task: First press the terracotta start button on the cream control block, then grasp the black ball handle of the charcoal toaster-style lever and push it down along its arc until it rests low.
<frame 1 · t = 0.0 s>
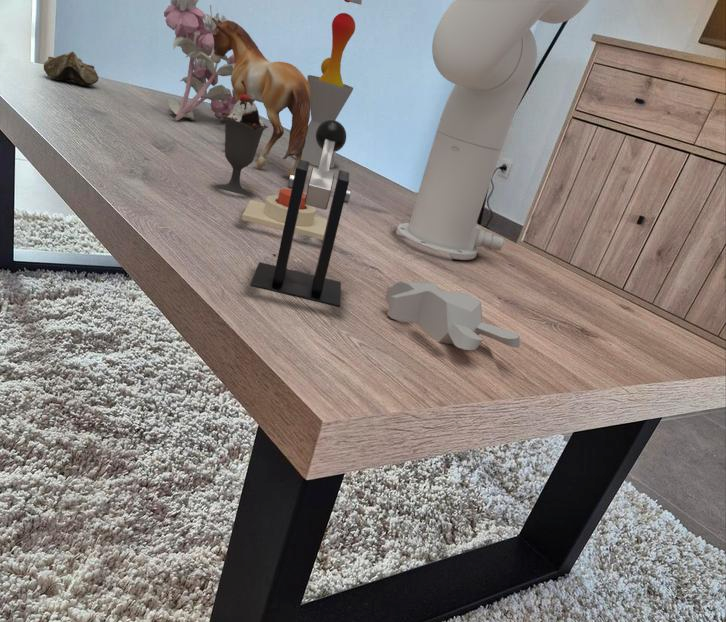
press lever: (325, 160, 68), point 13 cm above the table, hinge at 25.0°
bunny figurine: (436, 340, 70), on the table
start button: (292, 199, 88), point 4 cm above the table, slide at 0.1 cm
fossilized seashell: (70, 83, 142), on the table
sundae: (232, 192, 99), on the table
button block: (285, 229, 89), on the table
horse figurine: (240, 162, 119), on the table
flower: (207, 121, 145), on the table
lever bracket: (295, 293, 70), on the table
lava lamp: (313, 161, 136), on the table
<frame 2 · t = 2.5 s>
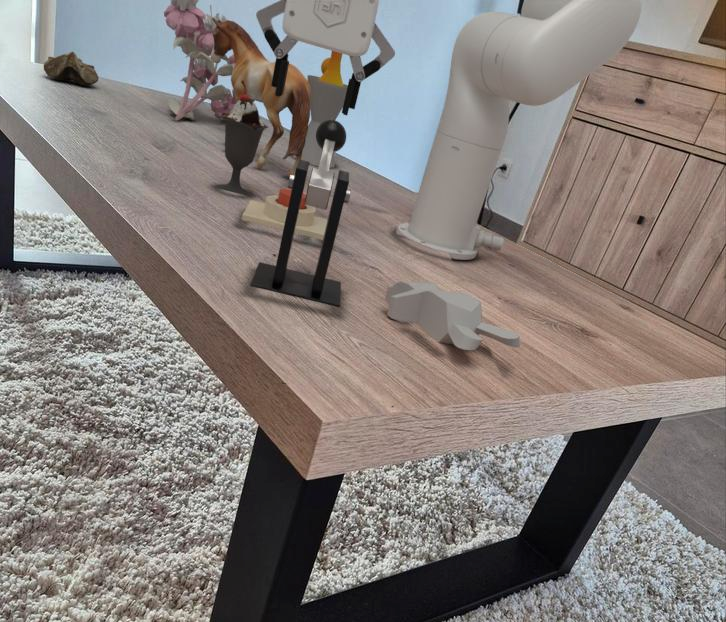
hand: (312, 103, 82), 16 cm above the table, tool pointing down, fingers open, 7 cm apart
nothing on the table moved.
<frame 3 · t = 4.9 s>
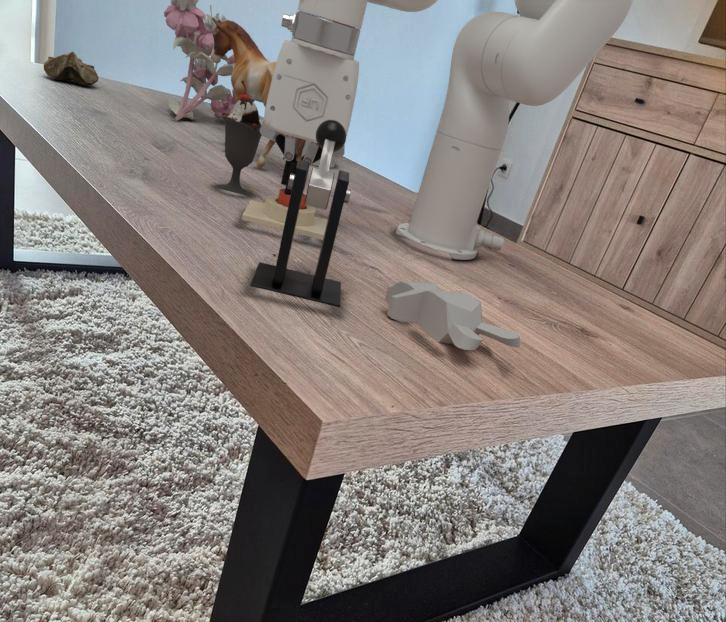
hand: (291, 192, 87), 5 cm above the table, tool pointing down, fingers closed
start button: (292, 199, 88), point 4 cm above the table, slide at 0.1 cm, touching gripper
everything else where it was.
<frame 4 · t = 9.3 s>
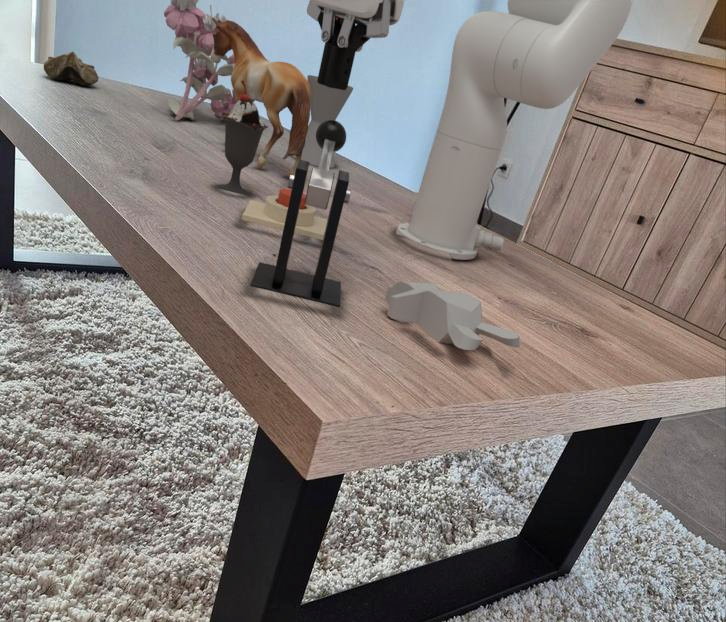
hand: (331, 86, 73), 19 cm above the table, tool pointing down, fingers closed
start button: (292, 199, 88), point 4 cm above the table, slide at 0.1 cm
everything else where it was.
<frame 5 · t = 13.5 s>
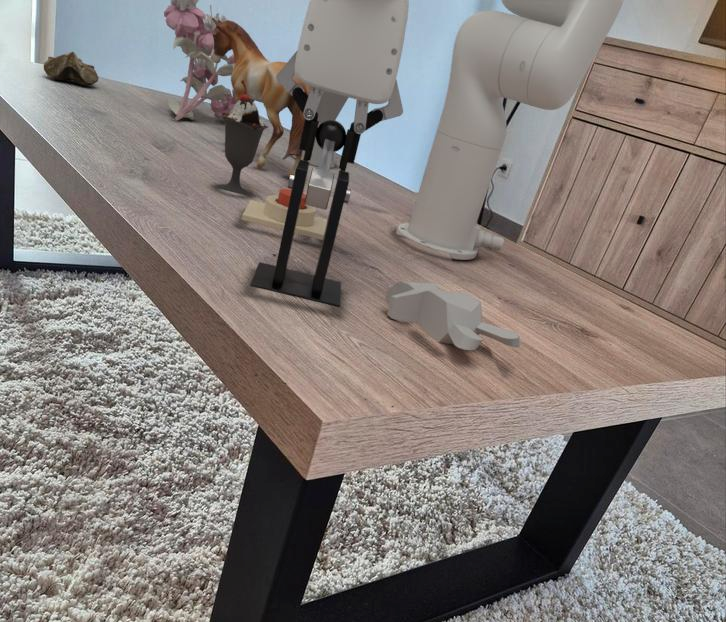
hand: (325, 162, 73), 12 cm above the table, tool pointing down, fingers closed on press lever, 3 cm apart
press lever: (325, 160, 68), point 13 cm above the table, hinge at 25.0°, touching gripper
everything else where it was.
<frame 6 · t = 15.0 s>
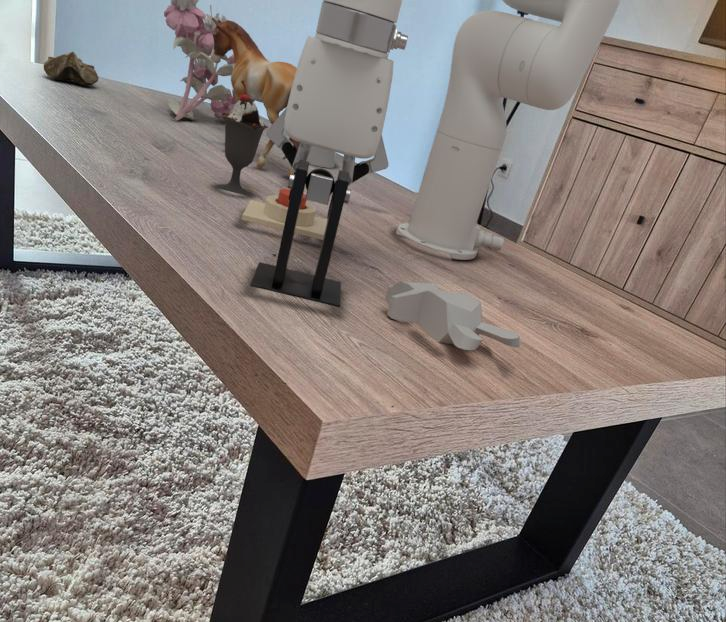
hand: (313, 211, 76), 6 cm above the table, tool pointing down, fingers closed on press lever, 3 cm apart
press lever: (319, 186, 70), point 10 cm above the table, hinge at -8.8°, touching gripper
everything else where it was.
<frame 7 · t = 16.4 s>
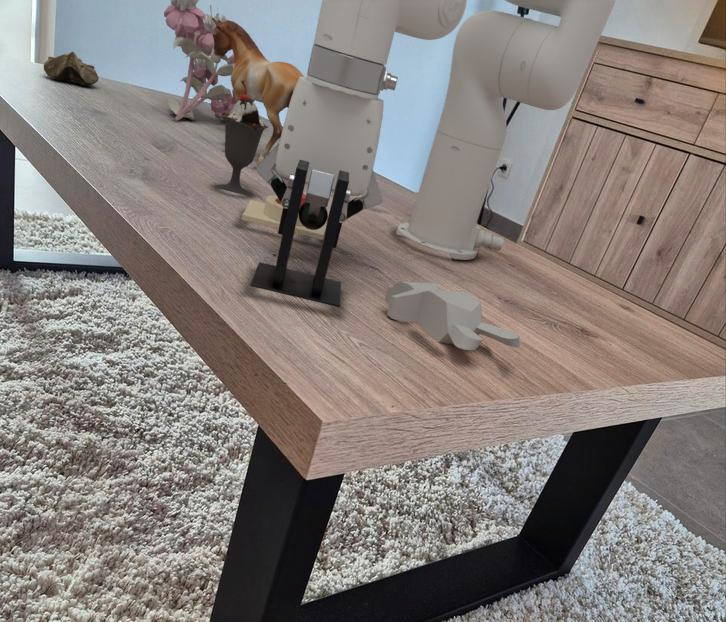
hand: (305, 245, 76), 3 cm above the table, tool pointing down, fingers open, 3 cm apart
press lever: (316, 202, 70), point 9 cm above the table, hinge at -30.6°
everything else where it was.
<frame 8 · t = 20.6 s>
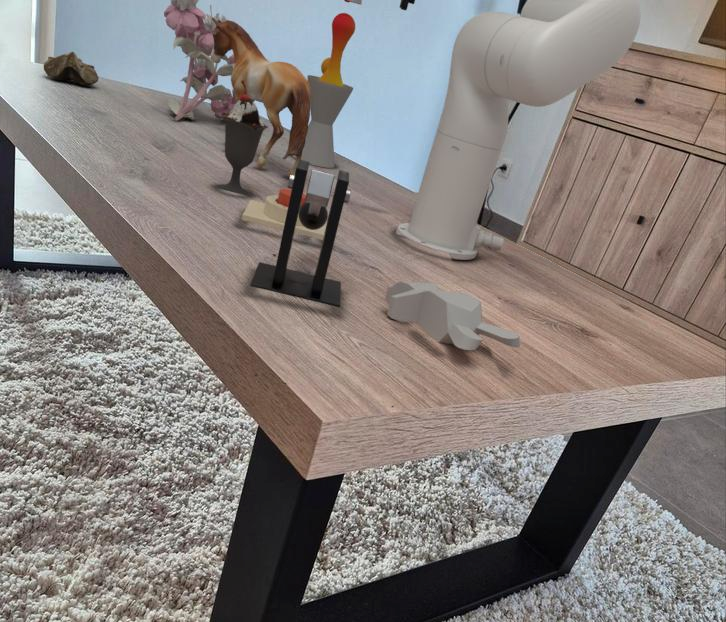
nothing on the table moved.
at the end: start button pushed in 1.1 cm at the most during the clip, back to where it started at the end; start button slide at 0.1 cm; press lever at -31° (first picture: +25°) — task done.
